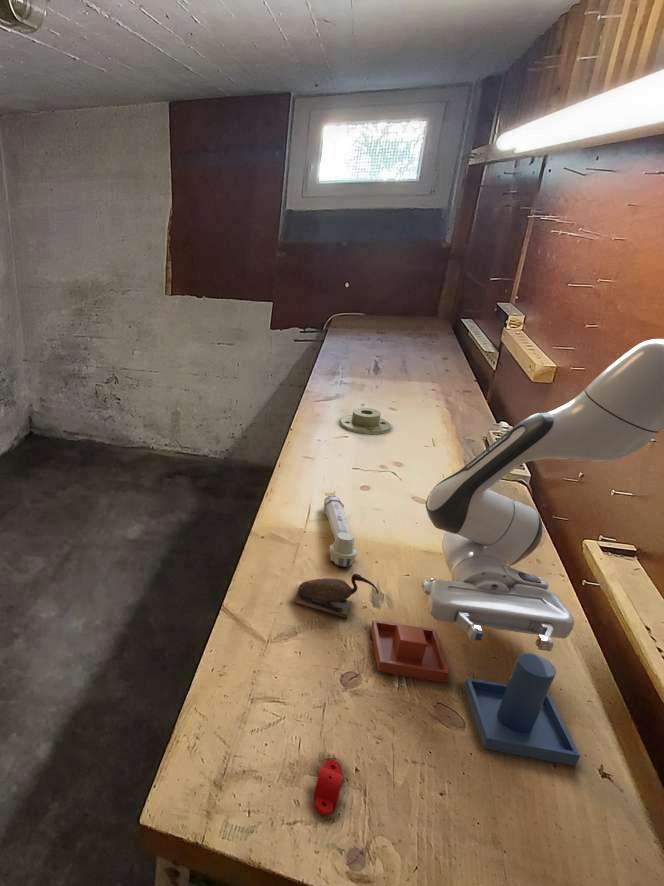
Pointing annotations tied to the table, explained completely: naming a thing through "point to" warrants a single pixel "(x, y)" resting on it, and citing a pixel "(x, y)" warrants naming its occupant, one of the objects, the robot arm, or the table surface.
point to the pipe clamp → (328, 787)
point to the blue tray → (539, 743)
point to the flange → (365, 422)
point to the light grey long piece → (339, 533)
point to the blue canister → (526, 692)
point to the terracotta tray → (388, 663)
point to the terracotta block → (409, 643)
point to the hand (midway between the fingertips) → (511, 642)
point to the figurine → (329, 594)
